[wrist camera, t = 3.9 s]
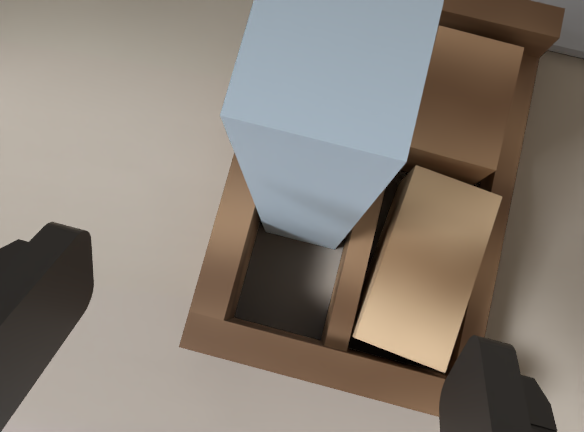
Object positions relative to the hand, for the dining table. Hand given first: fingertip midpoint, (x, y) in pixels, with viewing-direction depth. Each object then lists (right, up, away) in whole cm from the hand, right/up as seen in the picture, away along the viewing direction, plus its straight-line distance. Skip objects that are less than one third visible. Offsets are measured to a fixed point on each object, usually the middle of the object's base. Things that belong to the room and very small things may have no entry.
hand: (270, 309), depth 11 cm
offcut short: (+8, +7, +17) cm, 20 cm away
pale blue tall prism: (+2, +4, +16) cm, 17 cm away
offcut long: (+6, -1, +16) cm, 17 cm away
